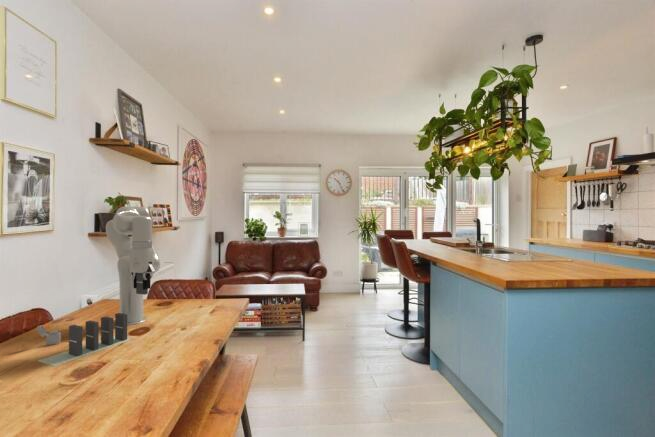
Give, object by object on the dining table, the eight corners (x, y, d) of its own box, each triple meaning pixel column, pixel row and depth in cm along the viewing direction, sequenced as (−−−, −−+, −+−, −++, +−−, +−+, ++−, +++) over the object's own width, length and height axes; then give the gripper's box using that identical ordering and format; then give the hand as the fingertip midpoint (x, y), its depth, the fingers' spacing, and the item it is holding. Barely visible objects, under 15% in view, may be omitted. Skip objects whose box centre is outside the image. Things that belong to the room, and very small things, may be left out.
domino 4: (123, 340, 130) (123, 315, 130) (114, 338, 132) (115, 313, 132) (127, 339, 132) (127, 314, 132) (119, 337, 134) (119, 312, 134)
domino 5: (144, 294, 139) (144, 270, 139) (136, 293, 141) (136, 270, 141) (147, 293, 140) (147, 270, 140) (139, 292, 142) (139, 269, 142)
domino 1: (77, 356, 115) (77, 327, 115) (68, 354, 117) (68, 326, 117) (82, 354, 117) (82, 326, 117) (73, 352, 119) (74, 324, 119)
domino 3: (109, 345, 125) (109, 319, 125) (100, 343, 127) (100, 317, 127) (113, 344, 127) (113, 318, 127) (105, 342, 129) (105, 316, 129)
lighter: (60, 343, 129) (60, 322, 129) (59, 344, 127) (59, 324, 127) (37, 346, 126) (37, 325, 126) (35, 347, 124) (36, 326, 124)
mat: (37, 362, 112) (37, 360, 112) (116, 336, 136) (116, 335, 136) (54, 367, 108) (54, 366, 108) (132, 340, 132) (132, 338, 132)
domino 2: (93, 350, 120) (93, 323, 120) (85, 348, 122) (85, 321, 122) (98, 349, 122) (98, 322, 122) (90, 347, 124) (90, 320, 124)
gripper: (120, 245, 141) (120, 288, 140) (147, 246, 134) (147, 291, 134) (136, 244, 147) (136, 285, 147) (163, 245, 140) (163, 288, 140)
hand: (141, 287), depth 140 cm, fingers closed on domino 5, 4 cm apart
